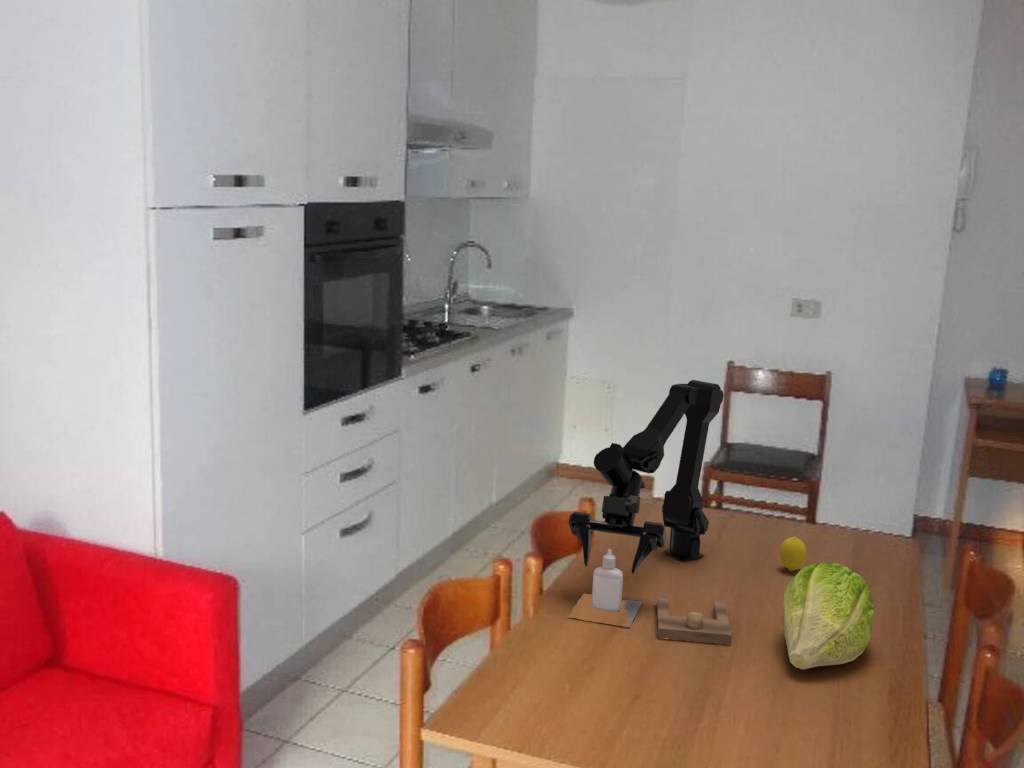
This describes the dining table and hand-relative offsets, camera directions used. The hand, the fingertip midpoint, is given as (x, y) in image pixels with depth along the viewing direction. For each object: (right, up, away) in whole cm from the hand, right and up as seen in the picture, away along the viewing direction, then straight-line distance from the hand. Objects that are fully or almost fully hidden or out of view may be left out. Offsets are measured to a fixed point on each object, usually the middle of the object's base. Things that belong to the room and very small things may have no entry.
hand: (609, 569), depth 190 cm
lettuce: (+36, -13, -13) cm, 41 cm away
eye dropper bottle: (0, -8, +1) cm, 8 cm away
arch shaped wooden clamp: (+15, -10, -3) cm, 18 cm away
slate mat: (-1, -8, +1) cm, 8 cm away
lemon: (+42, -5, +25) cm, 49 cm away
